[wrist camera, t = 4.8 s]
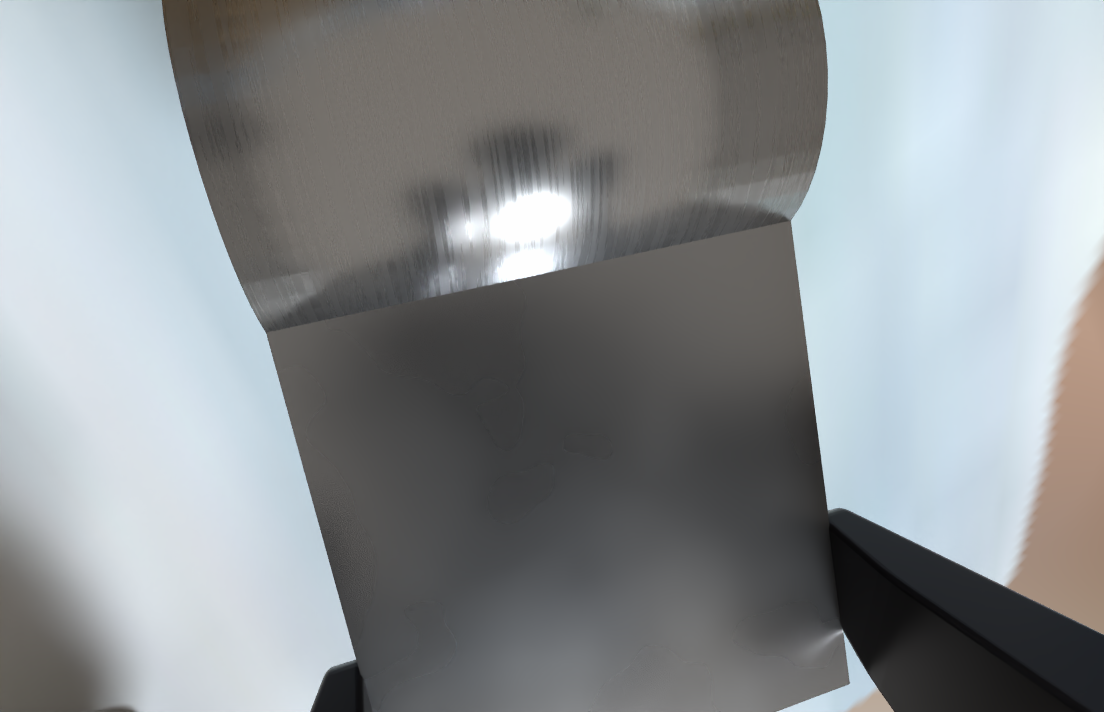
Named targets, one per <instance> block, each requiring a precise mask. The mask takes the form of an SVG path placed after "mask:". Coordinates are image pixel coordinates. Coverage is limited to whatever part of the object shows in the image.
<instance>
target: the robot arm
mask: <svg viewBox="0 0 1104 712" xmlns="http://www.w3.org/2000/svg"><path fill="white" fill-rule="evenodd" d="M828 517H829V525H830V526H829V535H830V543H831V551H832V559H833V567H834V575H835V582H836V590H837V598H838V606H839V614H840V622H841V627H842V630H843V631H844V633H845V635H846V637H847V638H848V640H849V642H850V644H851V645H852V647H853V649H854V651H855V652H856V654H857V656H858V658H859V659H860V661H861V663H862V664H863V666H864V668H865V669H866V671H867V673H868V674H869V676H870V677H871V679H872V680H873V682H874V683H875V685H876V686H877V688H878V689H879V691H880V692H881V693H882V695H883V696H884V698H885V699H886V701H887V702H888V703H889V705H890V706H891V708H892V709H893V710H894V712H1104V635H1103V634H1101V633H1099V632H1097V631H1095V630H1093V629H1091V628H1089V627H1087V626H1085V625H1083V624H1081V623H1079V622H1077V621H1075V620H1072V619H1070V618H1068V617H1066V616H1064V615H1062V614H1060V613H1058V612H1056V611H1053V610H1052V609H1050V608H1048V607H1046V606H1044V605H1041V604H1039V603H1038V602H1035V601H1033V600H1031V599H1029V598H1027V597H1025V596H1023V595H1021V594H1019V593H1017V592H1015V591H1013V590H1011V589H1009V588H1007V587H1005V586H1003V585H1001V584H999V583H997V582H994V581H992V580H990V579H988V578H986V577H984V576H982V575H980V574H978V573H976V572H974V571H972V570H970V569H968V568H966V567H964V566H962V565H960V564H958V563H956V562H953V561H951V560H949V559H947V558H945V557H943V556H941V555H939V554H937V553H935V552H933V551H931V550H929V549H927V548H925V547H923V546H921V545H919V544H917V543H914V542H912V541H910V540H908V539H906V538H904V537H902V536H900V535H898V534H896V533H894V532H892V531H890V530H888V529H886V528H884V527H882V526H880V525H878V524H875V523H873V522H871V521H869V520H867V519H865V518H863V517H861V516H859V515H857V514H855V513H853V512H851V511H849V510H846V509H842V508H836V509H832V510H829V511H828ZM310 712H372V708H371V705H370V701H369V697H368V694H367V690H366V686H365V683H364V679H363V677H362V676H361V675H360V671H359V667H358V664H357V660H353V661H350V662H347V663H344V664H340V665H337V666H334V667H332V668H330V669H329V670H328V671H327V672H326V674H325V676H324V678H323V680H322V683H321V685H320V688H319V691H318V693H317V696H316V698H315V701H314V704H313V706H312V709H311V711H310Z"/></svg>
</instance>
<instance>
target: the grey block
mask: <svg viewBox="0 0 1104 712" xmlns="http://www.w3.org/2000/svg"><path fill="white" fill-rule="evenodd" d="M162 6H163V15H164V24H165V30H166V36H167V42H168V48H169V53H170V58H171V63H172V68H173V73H174V78H175V82H176V86H177V90H178V94H179V99H180V103H181V107H182V111H183V115H184V118H185V122H186V126H187V130H188V133H189V137H190V141H191V144H192V148H193V151H194V154H195V158H196V161H197V165H198V168H199V171H200V175H201V178H202V181H203V184H204V187H205V190H206V193H207V196H208V199H209V202H210V205H211V208H212V211H213V214H214V217H215V220H216V222H217V225H218V228H219V231H220V234H221V236H222V239H223V242H224V244H225V247H226V249H227V252H228V255H229V257H230V260H231V262H232V265H233V267H234V270H235V272H236V274H237V277H238V279H239V281H240V284H241V286H242V288H243V290H244V292H245V295H246V297H247V299H248V301H249V303H250V305H251V307H252V309H253V311H254V313H255V315H256V317H257V318H258V320H259V322H260V324H261V325H262V327H263V328H264V330H265V332H266V334H267V338H268V341H269V345H270V348H271V352H272V356H273V359H274V363H275V367H276V370H277V374H278V377H279V381H280V385H281V388H282V392H283V396H284V399H285V403H286V406H287V410H288V414H289V417H290V421H291V425H292V428H293V432H294V435H295V439H296V443H297V446H298V450H299V454H300V457H301V461H302V464H303V468H304V472H305V475H306V479H307V483H308V486H309V490H310V493H311V497H312V501H313V504H314V508H315V512H316V515H317V519H318V522H319V526H320V530H321V533H322V537H323V540H324V544H325V548H326V551H327V555H328V559H329V562H330V566H331V569H332V573H333V577H334V580H335V584H336V588H337V591H338V595H339V598H340V602H341V606H342V609H343V613H344V617H345V620H346V624H347V627H348V631H349V635H350V638H351V642H352V646H353V649H354V653H355V656H356V660H357V664H358V667H359V671H360V675H361V676H362V677H363V679H364V683H365V686H366V690H367V694H368V697H369V701H370V705H371V708H372V712H776V711H779V710H782V709H784V708H787V707H790V706H792V705H795V704H798V703H800V702H803V701H806V700H808V699H811V698H814V697H816V696H819V695H822V694H824V693H827V692H830V691H832V690H835V689H838V688H840V687H843V686H845V685H848V684H850V682H849V674H848V667H847V659H846V651H845V643H844V635H843V630H842V627H841V622H840V614H839V606H838V598H837V590H836V582H835V575H834V567H833V559H832V551H831V543H830V535H829V526H830V525H829V517H828V510H827V502H826V494H825V486H824V478H823V470H822V463H821V455H820V447H819V439H818V431H817V423H816V416H815V408H814V400H813V392H812V384H811V376H810V368H809V361H808V353H807V345H806V337H805V329H804V321H803V314H802V306H801V298H800V290H799V282H798V274H797V266H796V259H795V251H794V243H793V235H792V227H791V219H792V218H793V216H794V215H795V213H796V212H797V211H798V209H799V208H800V206H801V204H802V202H803V200H804V198H805V196H806V194H807V192H808V189H809V187H810V184H811V181H812V179H813V176H814V173H815V170H816V166H817V162H818V159H819V155H820V151H821V146H822V140H823V134H824V128H825V121H826V109H827V97H828V68H827V54H826V41H825V35H824V28H823V22H822V15H821V11H820V7H819V3H818V0H162Z"/></svg>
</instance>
